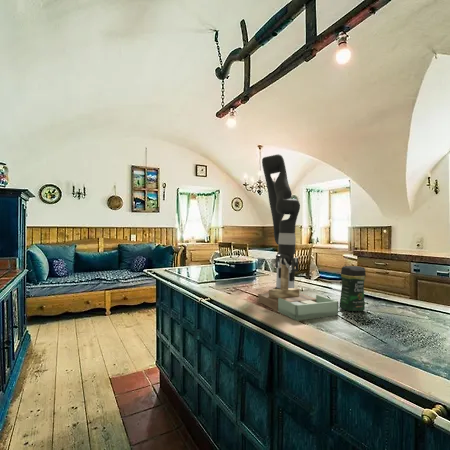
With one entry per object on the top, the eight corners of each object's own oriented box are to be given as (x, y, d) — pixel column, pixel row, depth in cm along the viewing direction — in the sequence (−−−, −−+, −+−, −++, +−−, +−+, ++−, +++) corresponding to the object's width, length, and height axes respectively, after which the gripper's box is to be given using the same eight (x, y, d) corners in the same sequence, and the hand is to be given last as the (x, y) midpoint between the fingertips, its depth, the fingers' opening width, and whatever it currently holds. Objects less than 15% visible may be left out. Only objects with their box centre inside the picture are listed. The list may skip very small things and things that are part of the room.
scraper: (295, 294, 136) (296, 263, 136) (299, 295, 133) (300, 264, 133) (268, 296, 130) (269, 264, 130) (272, 298, 128) (273, 265, 128)
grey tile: (297, 305, 123) (297, 301, 123) (304, 308, 118) (304, 304, 118) (287, 306, 121) (287, 302, 121) (294, 309, 116) (294, 305, 116)
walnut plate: (294, 298, 142) (294, 291, 142) (316, 307, 128) (317, 299, 128) (258, 301, 135) (258, 294, 135) (277, 311, 120) (277, 302, 120)
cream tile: (310, 303, 126) (310, 300, 126) (318, 306, 121) (318, 303, 121) (300, 304, 124) (300, 301, 124) (308, 307, 119) (308, 304, 119)
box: (317, 307, 127) (317, 294, 127) (338, 315, 116) (338, 301, 116) (278, 311, 120) (278, 298, 120) (296, 320, 109) (296, 305, 109)
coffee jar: (349, 313, 120) (350, 267, 120) (336, 307, 127) (337, 265, 127) (368, 311, 123) (369, 267, 123) (354, 306, 130) (355, 264, 130)
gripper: (303, 244, 127) (302, 282, 127) (284, 242, 140) (283, 276, 140) (289, 244, 124) (288, 282, 124) (271, 242, 137) (270, 277, 137)
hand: (286, 279), depth 132 cm, fingers open, 8 cm apart
